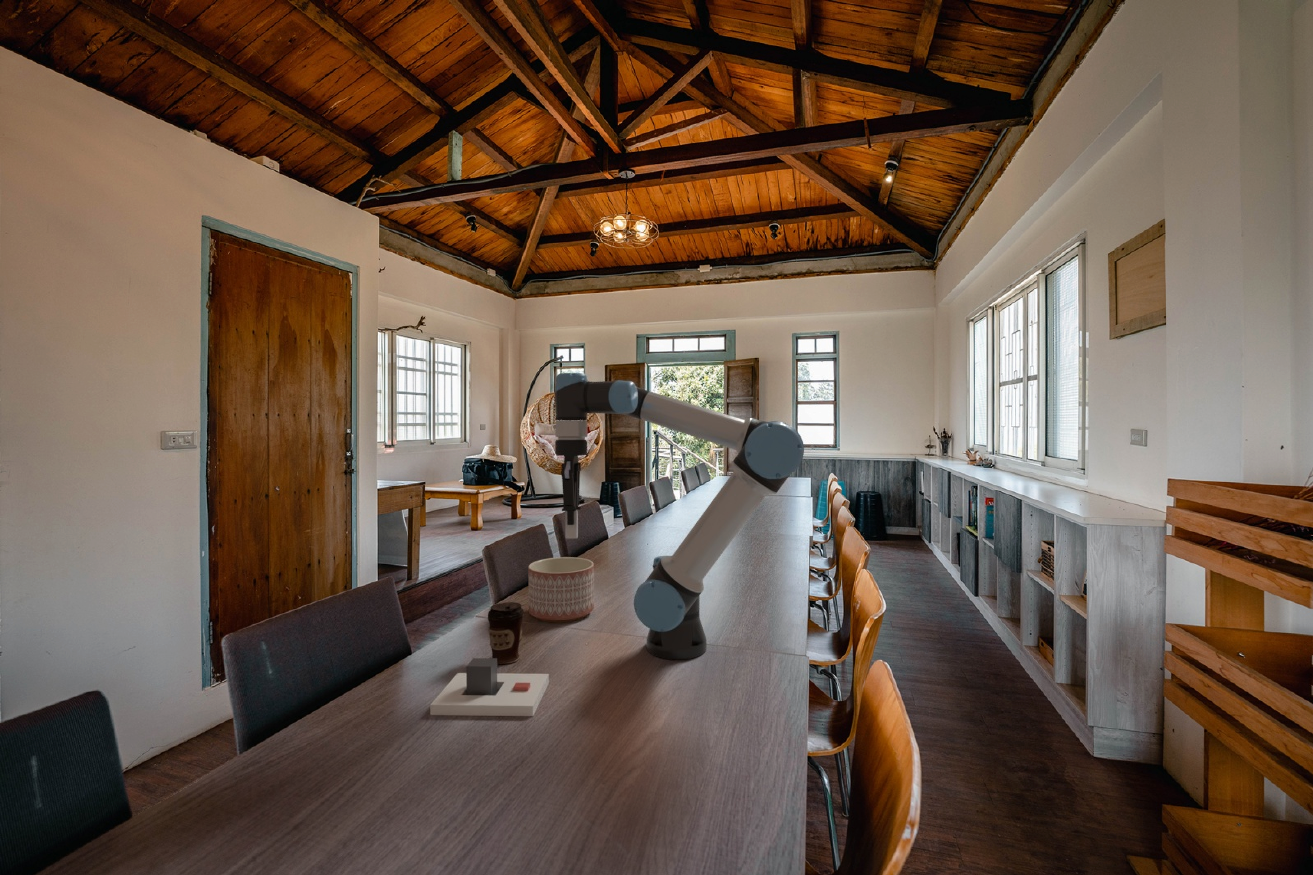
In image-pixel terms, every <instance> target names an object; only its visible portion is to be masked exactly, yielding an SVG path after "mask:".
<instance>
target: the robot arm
mask: <svg viewBox="0 0 1313 875" xmlns="http://www.w3.org/2000/svg"><path fill="white" fill-rule="evenodd" d="M553 393H554V411H555V412H554V416H555V417H554V421H555V423H554V424H553V425H552V429H555V430H554V434H555V438H557V439H556V440H554V443H555V444H554V453H555V455H556V456H562V457H564V459H563V463H561V470H560V473H561V483H562V486H561V487H562V499H563V500H562V501H563V502H562V504H563V506H562V508H561V511H562V512H565V513H564V514H565V517H564V521H565V522H564V523H565V524H564V525H565V531H564V532H565V539H578V537H579V519H578V517H579V516H578V515H579V514H578V513H579V511H578V510H582V506H579V505H580V486H581V485H580V484H581V482H580V480H581V479H580V478H581V470H582V464H581V462H579V457H580V456H587V454H588V441H587V439H586V438H588V414H590V415H591V414H592V415H593V414H615V415H624V416H628V417H631V418H635V419H638V420H642V421H645V422H648V423H650V424H654V425H656V426H660V427H664V428H665V429H670V430H672V431H675V432H678V433H682V434H685V435H687V436H691V437H694V438H697V439H700V440H704V441H706V442H710V443H713V444H715V445H719V446H721V447H726V448H727V449H731V450H734V451H736V453H737V455H736V457H735V458H733V460H732V469H733V472H732V473H731V475H730V476H729V477H728V479H727V480H726V482H725V483H724V484H723V486H722V487H721V488H720V489H719V491H718V493H717V494H716V495H715V497H714V498H713V499H712V501H710V503H709V505H708V506H707V508H706V509H705V510H704V511H703V513H702V514H701V516H700V517H699V518H698V520H697V521H696V523H695V524H694V525H693V527H692V528H691V529H690V531H689V532H688V533H687V535H686V536H685V538H684V539H683V540H682V542H681V543H680V545H678V547H677V549H675V551H674V553H673V554H672V555H659V556H658V555H657V556H656V557H654V559H653V564H652V571H651V573H650V574H649V575H648V576H647V578H646V579H645V581H644V582H643V583H641V584H640V585H639V586H638V587H637V590H636V591H635V594H634V597H633V608H634V612H635V615H636V616H637V618H638V620H639V621H640V623H642V625H644V626H645V627H647V628H648V634H647V636H646V650H647V651H648V653H649V654H651V655H653V656H655V657H658V658H660V659H667V660H688V659H689V660H690V659H694V658H697V657H699V656H701V655H703V654H704V653H705V652H707V646H708V645H707V643H708V642H707V637H706V634H705V631H704V627H703V625H702V621H701V618H700V600H701V599H700V596H701V594H702V593H703V591H704V589H705V588H704V581H703V580H704V578H705V577H706V575H707V574H708V573H709V572H710V570H711V569H712V568H713V567H714V565H715V564H716V563H717V561H718V560H719V559H720V557H721V556H722V554H724V552H725V550H726V549H727V548H728V546H729V545H730V544H731V543H732V541H733V539H735V537H736V536H737V535H738V533H739V532H740V531H741V529H742V528H743V526H745V524H746V523H747V521H748V520H749V518H750V517H751V516H752V514H753V513H754V512H755V511H756V509H757V508H758V506H759V505H760V504H761V503H762V501H763V500H764V498H765V497H766V496H770V495H776V494H778V491H779V490H780V489H781V488H782V486H783V485H784V484H785V483H786V481H787V480H788V479H789V477H790V476H791V475H792V473H794V472H795V471H797V469H798V468H799V466H800V465H801V464H802V462H803V459H804V454H805V446H804V445H805V444H804V440H803V439H802V436H801V435H800V433H799V431H798V430H796V429H795V428H794V426H792V425H790V424H788V423H786V422H784V421H778V420H771V421H764V420H761V419H760V420H759V419H758V418H757V419H756V418H753V417H750V418H748V419H743V418H738V417H736V416H732V415H729V414H726V413H723V412H720V411H716V410H712V409H709V408H706V407H703V406H701V405H700V406H699V405H696V404H693V403H689V402H687V401H683V400H680V399H677V398H673V397H670V396H667V395H663V394H660V393H656V392H653V391H649V390H648V389H647V390H646V389H643V388H640V387H639V386H636V384H635V382H633V381H631V380H621V379H618V380H608V381H590V380H588V376H587V375H586V374H585V373H583V372H562V373H561V372H560V373H558V374H557V375H556V376H555V383H554V392H553Z"/></svg>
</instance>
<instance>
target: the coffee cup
mask: <svg viewBox="0 0 1313 875" xmlns="http://www.w3.org/2000/svg"><path fill="white" fill-rule="evenodd" d="M489 608H490V609H489V611H488V612H487V620H488V625H489V626H488V635H489V646H490V649H491V654H492V656H491V658H497V664H501V665H502V664H503V665H504V664H512V663H516V662H517V661H519V660H520V654H519V646H520V643H521V641H522V634H523V619H524V614H525V609H523V608H522V604H521V603H519V602H517V601H516V602H514V601H513V602H512V601H511V602H510V601H509V602H502V603H495V604H492V605H491V606H490V607H489Z"/></svg>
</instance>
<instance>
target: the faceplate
mask: <svg viewBox="0 0 1313 875" xmlns="http://www.w3.org/2000/svg"><path fill="white" fill-rule="evenodd" d="M549 683H550V673H508V672H507V673H504V672H503V673H500V672H499V673H498V672H497V693H496V694H495V696H492V695H467V682H466V672H457V673H456V674H455V676H454V677H453V678H452V679H451V680H450V682H449V683H447V685H446V686H445V687H444V688H443V690H442V691H441V692H440V693H439V694H438V696H436V697H435V699H434V700H433V701H432V702H431V703H430V705H429V709H430V710H429V711H430V716H468V717H469V716H478V717H479V716H483V717H486V716H489V717H502V716H503V717H534V715H535V713H536V711H537V709H538V707H539V705H540V703H541V701H542V698H543V697H544V694H545V692H546V690H547V688H548V686H549Z"/></svg>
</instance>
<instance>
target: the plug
mask: <svg viewBox="0 0 1313 875" xmlns="http://www.w3.org/2000/svg"><path fill="white" fill-rule="evenodd" d="M465 670H466V672H465V673H466V682H467V695H492V696H495V694H496V693H497V673H498V663H497V658H492V657H491V658H490V657H489V658H486V657H482V658H481V657H473V658H472V659H471V660H470V661H469V663H468V664H467V665H466V669H465Z"/></svg>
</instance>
